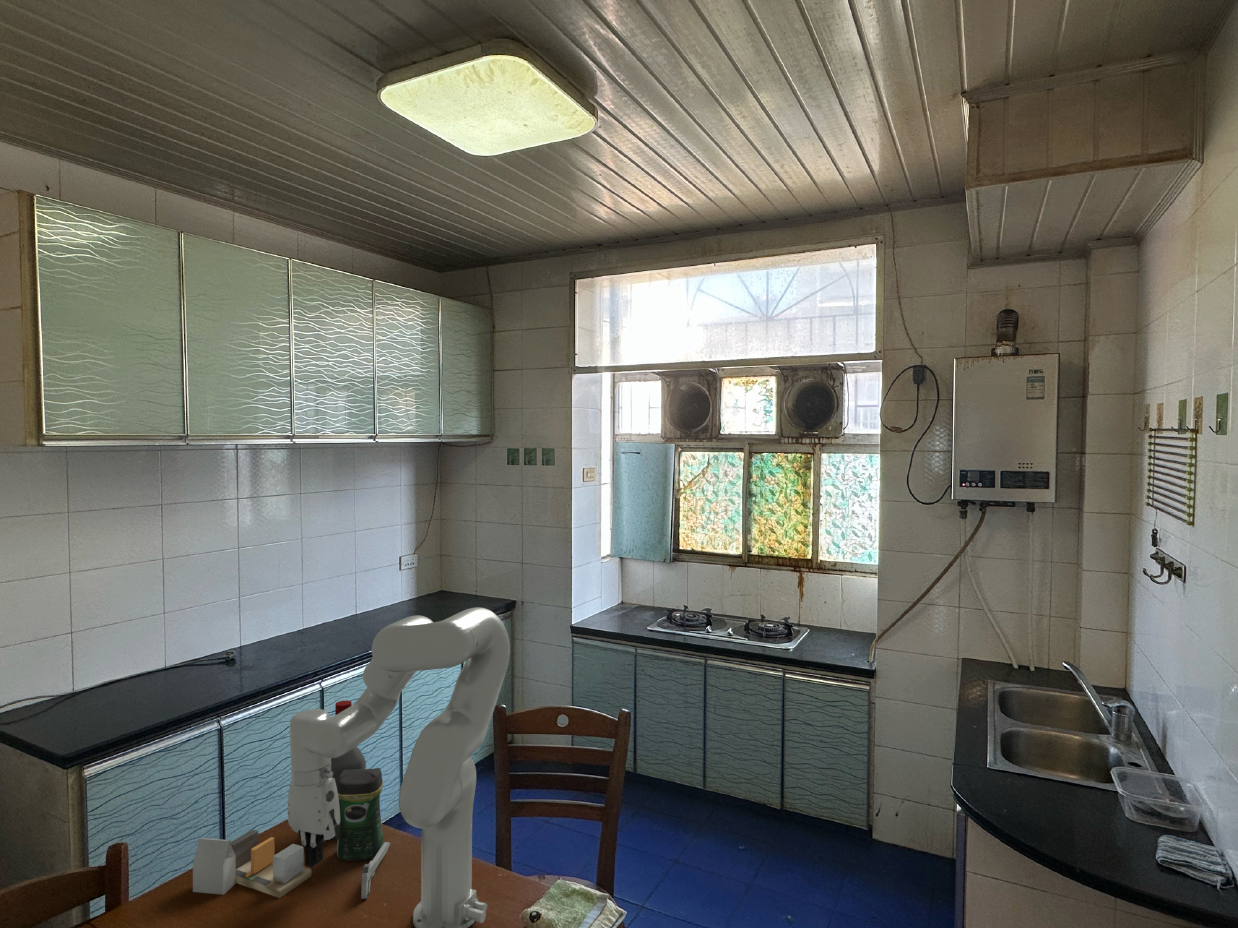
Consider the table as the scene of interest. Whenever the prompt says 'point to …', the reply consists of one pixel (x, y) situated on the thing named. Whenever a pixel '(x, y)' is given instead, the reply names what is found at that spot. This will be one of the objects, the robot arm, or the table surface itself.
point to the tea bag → (214, 866)
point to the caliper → (372, 870)
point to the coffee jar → (359, 814)
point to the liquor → (346, 757)
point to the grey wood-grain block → (288, 863)
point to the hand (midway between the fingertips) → (314, 862)
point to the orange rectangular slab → (262, 856)
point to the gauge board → (264, 876)
